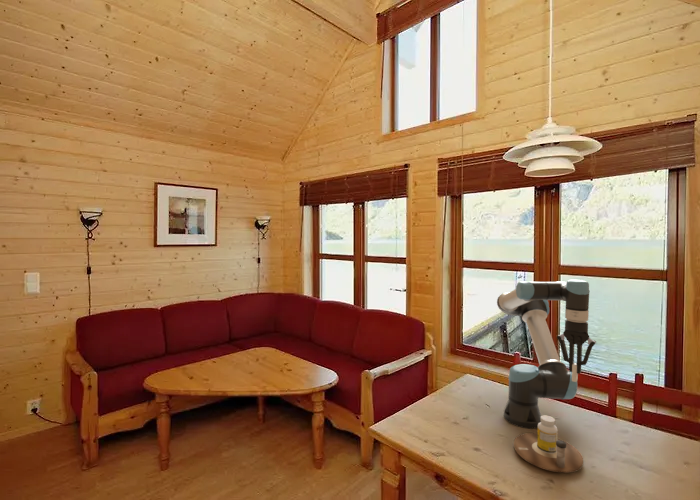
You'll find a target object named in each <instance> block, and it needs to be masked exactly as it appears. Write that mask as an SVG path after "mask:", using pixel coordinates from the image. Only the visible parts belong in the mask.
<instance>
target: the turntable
mask: <svg viewBox="0 0 700 500" xmlns="http://www.w3.org/2000/svg"><path fill="white" fill-rule="evenodd" d="M556 445H557V452H556V453H554V454H548V453H544V452H542V451H541V450H539V449H538V447H537V432H530V433H529V432H528V433H527V432H525V433H522V434H519V435H518V436H516V437H515V438H514V440H513V448H514V450H515V452H516V453H517V455H519V456H520V457H521V458H522V459H523V460H524V461H526V462H528V463H529V464H531V465H534V466H535V467H538V468H541V469H543V470H546V471H550V472H554V473H564V474H565V473H567V474H569V473H574V472H578V471H579V470H581V469H582V467H583V465H584V457H583V455H582V453H581V452H580V451H579V450H578V449H577V448H576V447H575V446H574V445H572V444H571V443H569V442H567V441H565V440H564V439H560V438H558V440H557V441H556Z"/></svg>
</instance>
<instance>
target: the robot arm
mask: <svg viewBox="0 0 700 500" xmlns="http://www.w3.org/2000/svg"><path fill="white" fill-rule="evenodd" d="M549 301H563V302H565V309H564V310H565V313H564V317H565V322H564V331H563V333H562V334H558V335H556V339H557V340H558V342H559V344H560V345H559V346H560V348H561V354H562V358H563V361H564V362H567V363H568V369H567V365H566V363H564V362H562V361H561V360H560V356H559V354H558V350H557V348H556V345H555V342H554V340H553V336H552V334H551V331H550V329H549V325H548V323H547V321H546V319H547V318H548V316H549V314H550V307H549V306H550V303H549ZM589 303H590V283H589V282H588V281H586V280H584V279H583V280H582V279H568V280H567V281H564V280H562V281H561V280H557V281H528V280H526V281H519V282H517V284H516V286H515V289H513V290H512V291H510V292H509V291H506V292H504V293H503V292H502V293H501V294H499V296H498V297H497V299H496V305H497V308H498V309H499V310H500V311H501V313H504V314H506V315H509V316H516V317H521V319H522V321H523V322H524V323H525V324H527V328H528V331H529V334H530V337H531V341H532V344H533V347H534V352H535V353H536V357H537V360H538V364H539V365H538V366H536V365H533V364H528V363H519V364H518V363H517V364H515V365H512V366H511V367H510V368H509V372H508V398H507V402H506V404H505V407H504V410H503V418H504V420H506V421H507V422H508V423H510V424H512V425H514V426H517V427H520V428H525V429H537V428H538V423H540V422H541V420H540V418H541V416H542V414H541V410H540V408H539V407H540V406H539V398H540V399H551V400H552V399H553V400H556V399H557V400H571V399H574V398H575V397H576V394H577V393H578V392H577V391H578V376H579V375H580V374H581V372H582V366H585V365H587V363H588V362H589V358H590V355H591V352H592V350H593V347H594V346H595V345H596V344H597V341H596V340H593V339H592V338H591V337H590V335H589V322H588V321H589V309H590V307H589V305H590V304H589ZM565 340H566V341H567V342H568V343H569V344H568V345H569V349H568V350H569V353H568V350H567V346H566V343H565ZM586 342H587V348H586V350H585V354H584V357H583V345H584V344H585V343H586ZM575 345H576V362H575ZM582 358H583V359H582Z"/></svg>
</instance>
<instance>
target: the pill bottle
mask: <svg viewBox="0 0 700 500" xmlns="http://www.w3.org/2000/svg"><path fill="white" fill-rule="evenodd" d="M540 420H541V422H540V423H538V428H536V430H537V432H536V433H537V447H538V449H539V450H541V451H542V452H544V453H548V454H554V453H556V452H557V445H556V441H557V440H558V439H559V438H558V437H559V433H558V432H559V429H558V427H557V425H556V420H555V417H552V416H550V415H545V414H543V415H541V418H540Z"/></svg>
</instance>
